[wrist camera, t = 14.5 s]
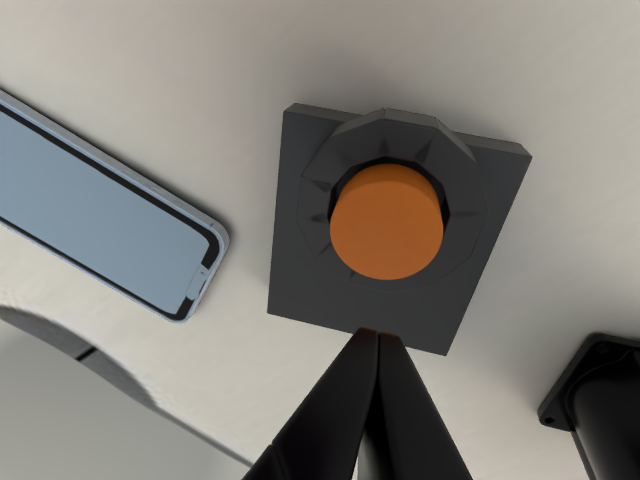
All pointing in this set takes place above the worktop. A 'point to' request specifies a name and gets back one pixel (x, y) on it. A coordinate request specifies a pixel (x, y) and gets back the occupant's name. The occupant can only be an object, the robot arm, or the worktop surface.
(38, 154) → the smartphone
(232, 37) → the worktop surface
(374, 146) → the control block
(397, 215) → the button
